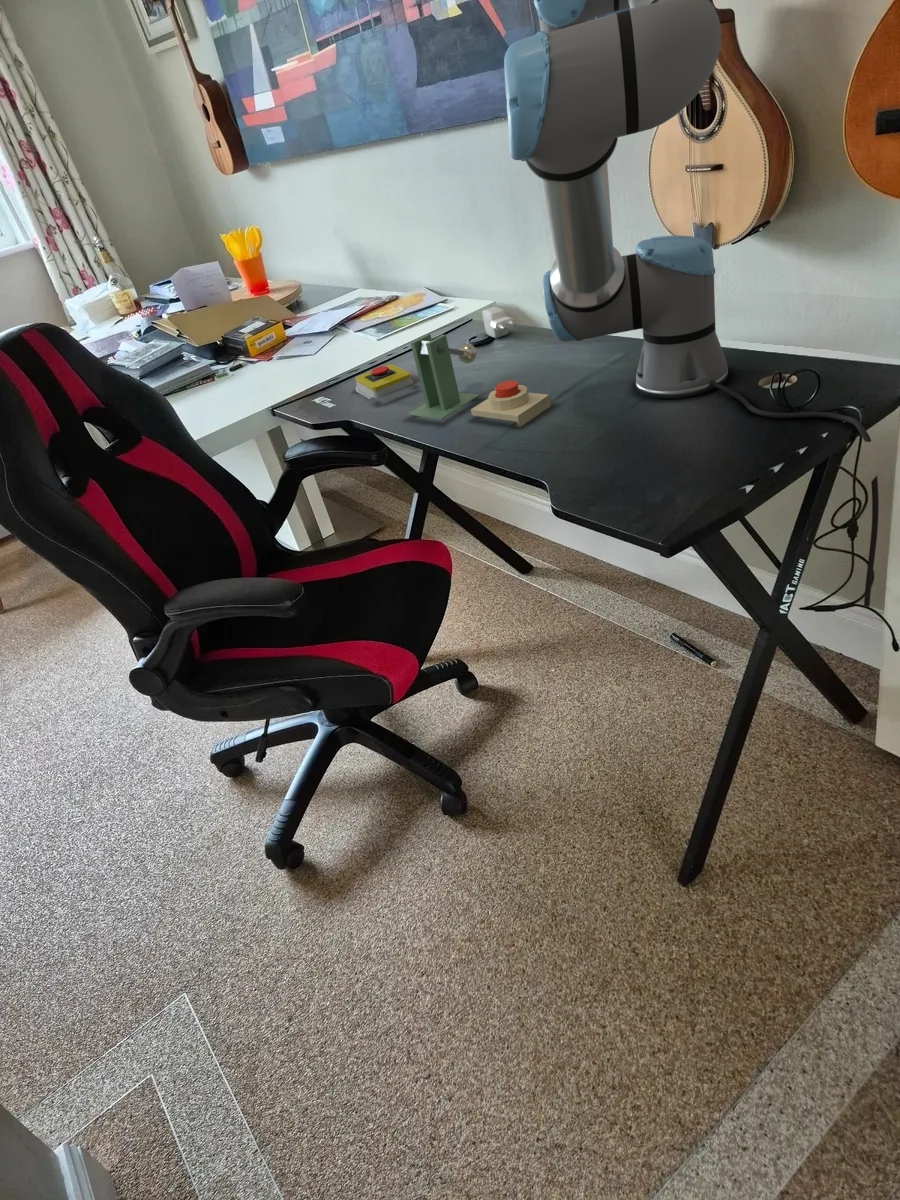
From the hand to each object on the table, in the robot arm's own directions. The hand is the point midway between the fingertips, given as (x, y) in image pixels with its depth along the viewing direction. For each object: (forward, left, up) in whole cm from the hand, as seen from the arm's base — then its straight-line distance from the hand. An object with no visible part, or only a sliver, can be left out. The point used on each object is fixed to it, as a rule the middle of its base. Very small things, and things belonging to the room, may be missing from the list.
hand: (585, 225), depth 140 cm
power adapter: (+32, -8, -25) cm, 41 cm away
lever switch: (+16, +25, -16) cm, 34 cm away
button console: (+1, +27, -24) cm, 36 cm away
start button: (+1, +27, -21) cm, 34 cm away
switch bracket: (+16, +29, -24) cm, 41 cm away
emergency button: (+38, +24, -25) cm, 51 cm away
